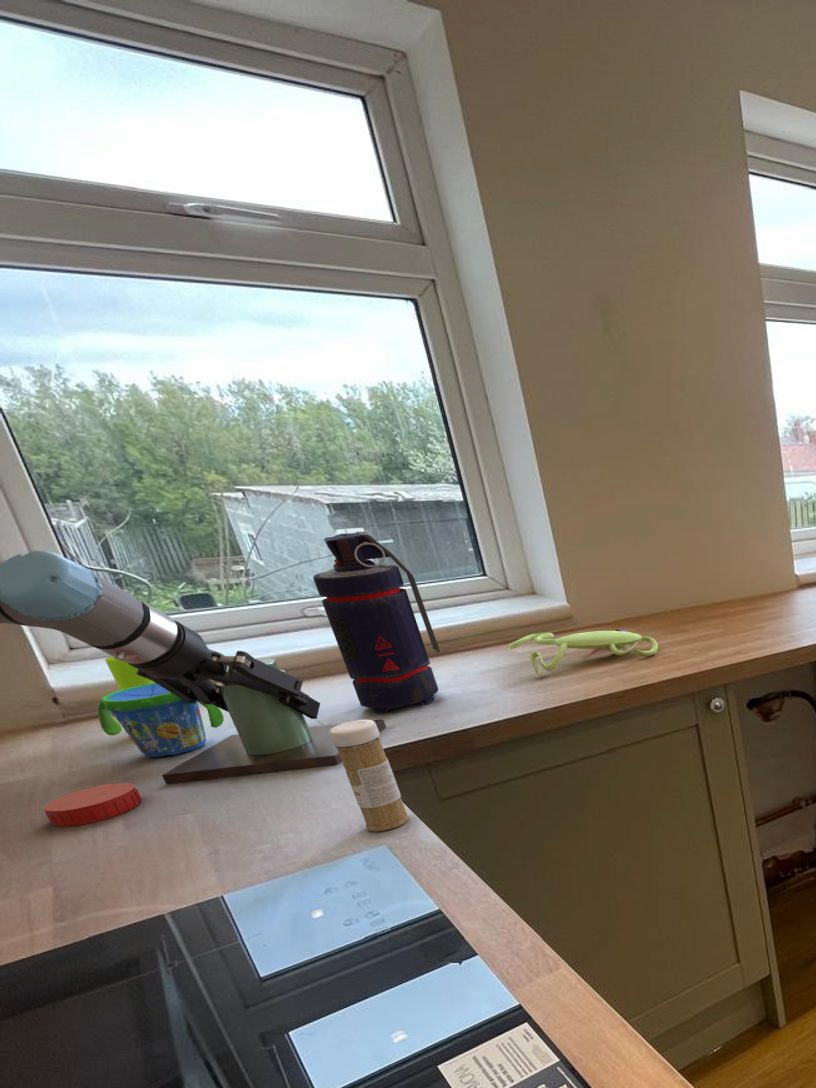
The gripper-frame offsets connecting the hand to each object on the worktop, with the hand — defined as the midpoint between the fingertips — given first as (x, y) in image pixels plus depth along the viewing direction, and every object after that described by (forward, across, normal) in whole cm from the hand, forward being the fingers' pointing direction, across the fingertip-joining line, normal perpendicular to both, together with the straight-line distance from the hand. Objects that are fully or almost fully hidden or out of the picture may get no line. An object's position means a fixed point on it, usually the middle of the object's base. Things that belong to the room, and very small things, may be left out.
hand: (285, 713), depth 127 cm
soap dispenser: (+14, -31, +6) cm, 34 cm away
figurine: (+34, +29, +26) cm, 51 cm away
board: (+2, 0, -6) cm, 7 cm away
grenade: (+18, +6, +10) cm, 21 cm away
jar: (+1, 0, -5) cm, 5 cm away
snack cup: (+5, -20, -3) cm, 21 cm away
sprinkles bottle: (-19, +32, -27) cm, 46 cm away
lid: (-12, -12, -18) cm, 24 cm away
